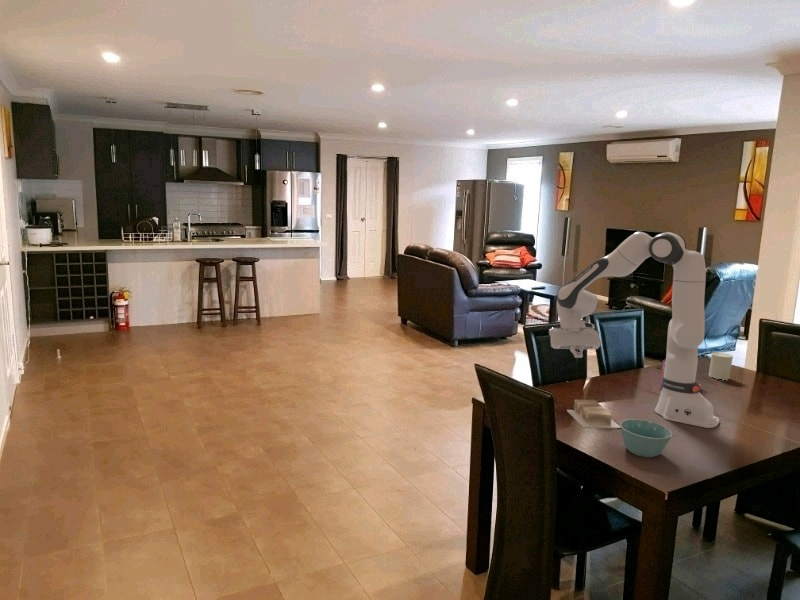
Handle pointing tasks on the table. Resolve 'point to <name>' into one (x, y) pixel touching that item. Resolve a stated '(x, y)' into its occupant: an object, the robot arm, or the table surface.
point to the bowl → (644, 437)
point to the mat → (586, 425)
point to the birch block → (592, 412)
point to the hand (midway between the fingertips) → (578, 356)
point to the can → (720, 365)
